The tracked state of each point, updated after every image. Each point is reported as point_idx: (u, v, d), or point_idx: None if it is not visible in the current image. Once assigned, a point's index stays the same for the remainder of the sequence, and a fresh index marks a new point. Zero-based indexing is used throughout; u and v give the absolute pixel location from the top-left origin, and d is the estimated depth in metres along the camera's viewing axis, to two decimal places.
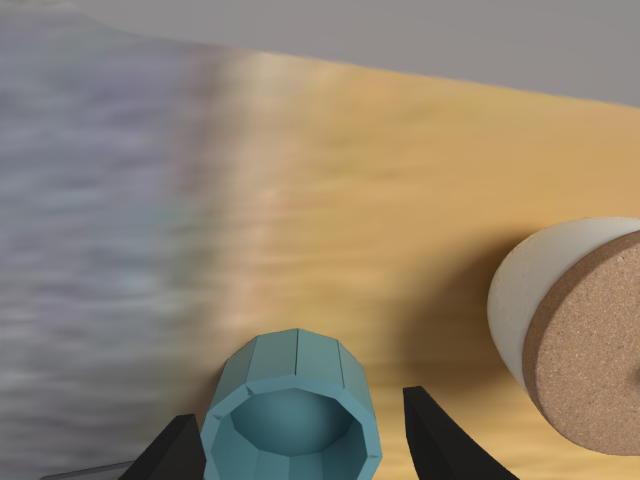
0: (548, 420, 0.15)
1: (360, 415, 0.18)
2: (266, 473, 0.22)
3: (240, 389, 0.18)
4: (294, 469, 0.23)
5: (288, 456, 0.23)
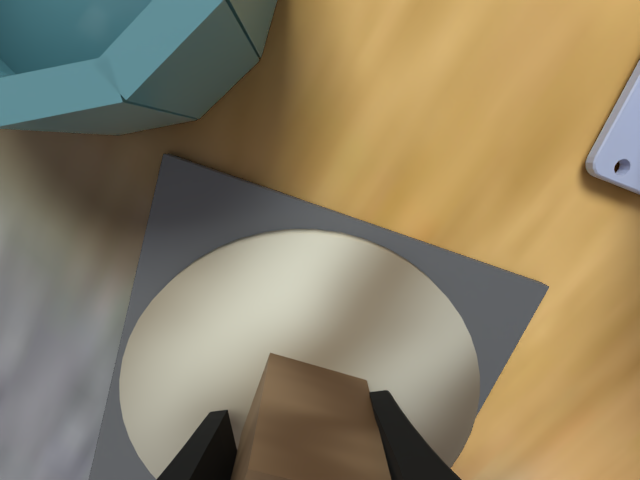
0: None
1: None
2: None
3: None
4: None
5: None
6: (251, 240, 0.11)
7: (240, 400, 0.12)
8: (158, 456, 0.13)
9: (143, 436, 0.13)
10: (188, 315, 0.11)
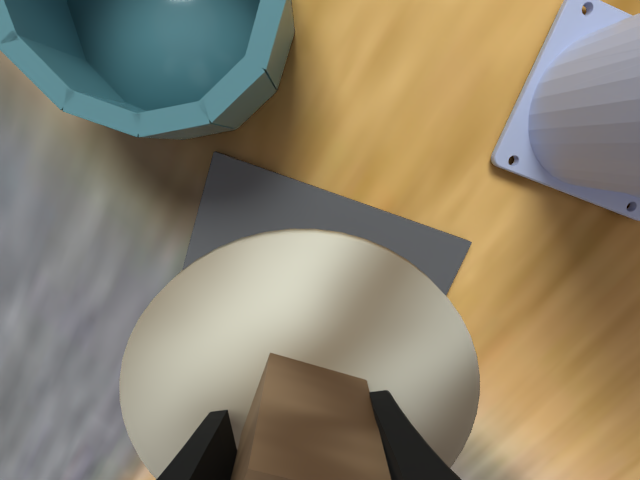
0: None
1: None
2: None
3: None
4: None
5: None
6: (251, 240, 0.11)
7: (240, 399, 0.12)
8: (158, 456, 0.13)
9: (143, 436, 0.13)
10: (188, 315, 0.11)
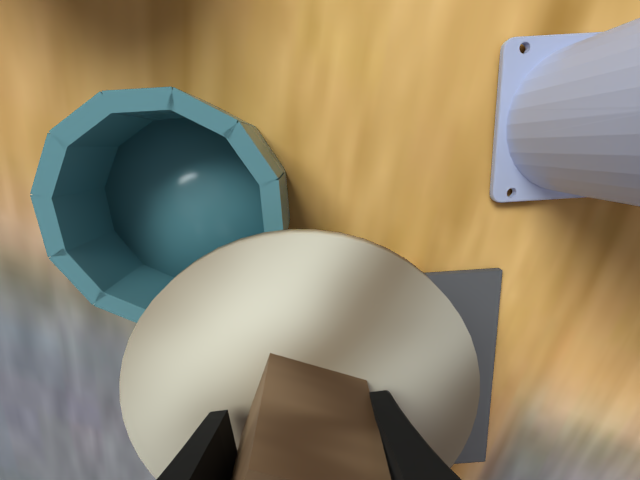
0: None
1: (95, 113, 0.13)
2: None
3: (58, 263, 0.14)
4: None
5: None
6: (251, 240, 0.11)
7: (240, 400, 0.12)
8: (158, 456, 0.13)
9: (143, 436, 0.13)
10: (188, 315, 0.11)
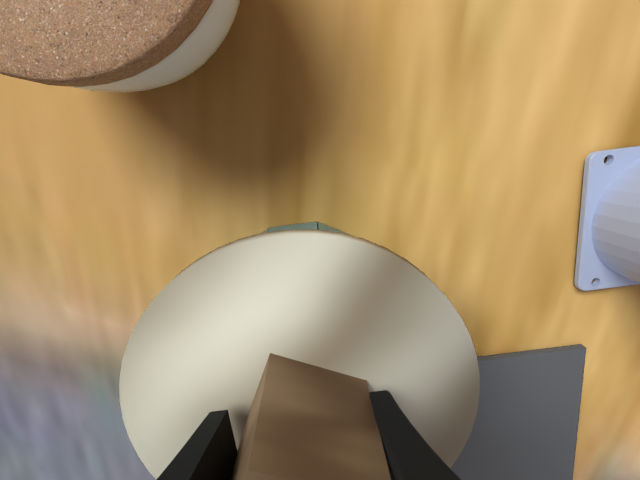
0: (157, 46, 0.10)
1: None
2: None
3: None
4: None
5: None
6: (251, 241, 0.11)
7: (240, 400, 0.12)
8: (158, 456, 0.13)
9: (143, 436, 0.13)
10: (188, 316, 0.11)
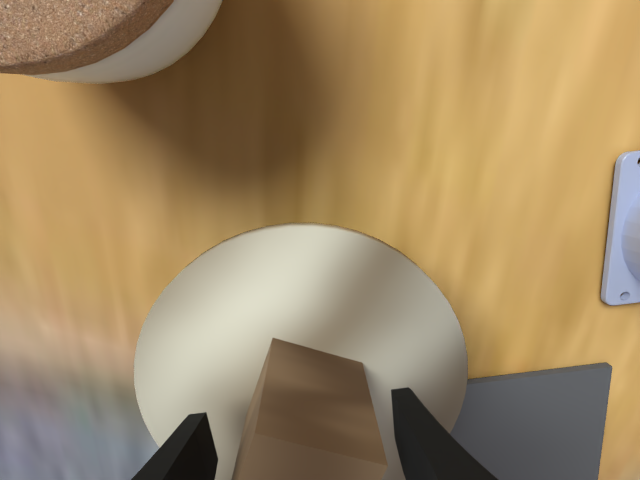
0: (122, 24, 0.08)
1: None
2: None
3: None
4: None
5: None
6: (254, 233, 0.12)
7: (246, 382, 0.13)
8: None
9: (156, 417, 0.14)
10: (197, 303, 0.12)
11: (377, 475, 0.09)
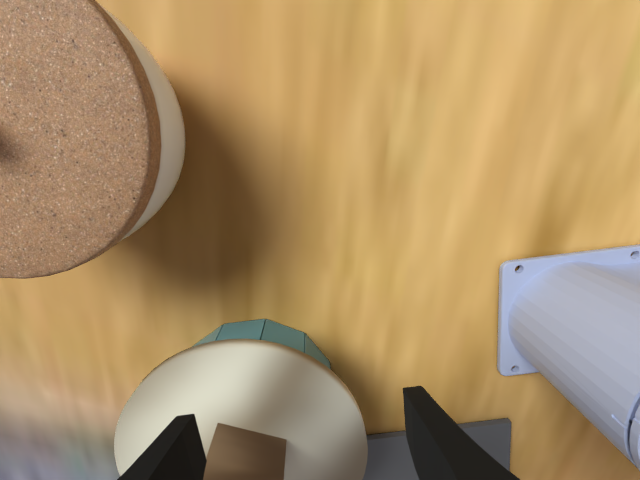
0: (99, 252, 0.12)
1: None
2: None
3: None
4: None
5: None
6: (200, 352, 0.16)
7: None
8: None
9: None
10: (160, 399, 0.17)
11: None
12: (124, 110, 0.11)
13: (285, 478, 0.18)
